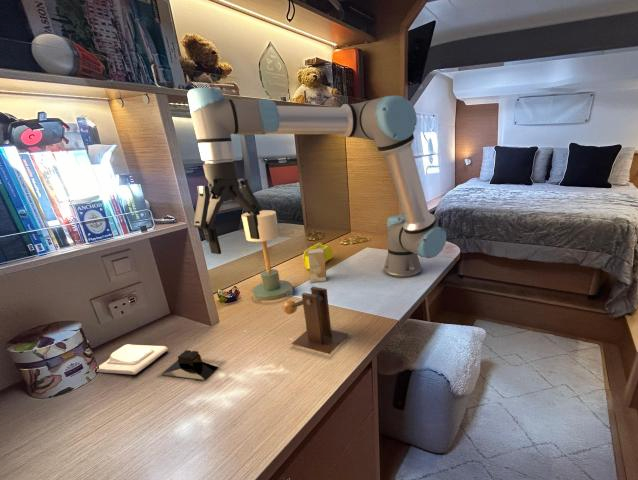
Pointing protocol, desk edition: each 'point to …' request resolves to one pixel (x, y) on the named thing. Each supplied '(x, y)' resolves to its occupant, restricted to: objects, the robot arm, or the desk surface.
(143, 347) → the light switch
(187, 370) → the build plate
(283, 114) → the robot arm
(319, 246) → the yellow toy chassis
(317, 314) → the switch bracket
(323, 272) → the cosmetic box
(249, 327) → the desk surface
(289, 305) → the lever with ball knob
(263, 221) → the lamp
